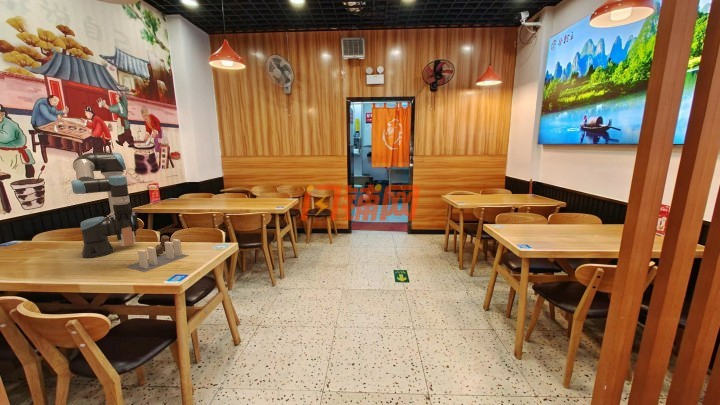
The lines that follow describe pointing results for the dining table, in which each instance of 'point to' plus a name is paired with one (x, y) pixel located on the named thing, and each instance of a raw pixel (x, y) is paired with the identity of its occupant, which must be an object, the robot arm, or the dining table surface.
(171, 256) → the domino
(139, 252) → the domino
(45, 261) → the dining table surface
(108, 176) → the robot arm
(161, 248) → the brown irregular block
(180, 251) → the domino
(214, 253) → the dining table surface
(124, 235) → the domino
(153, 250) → the domino
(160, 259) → the mat
